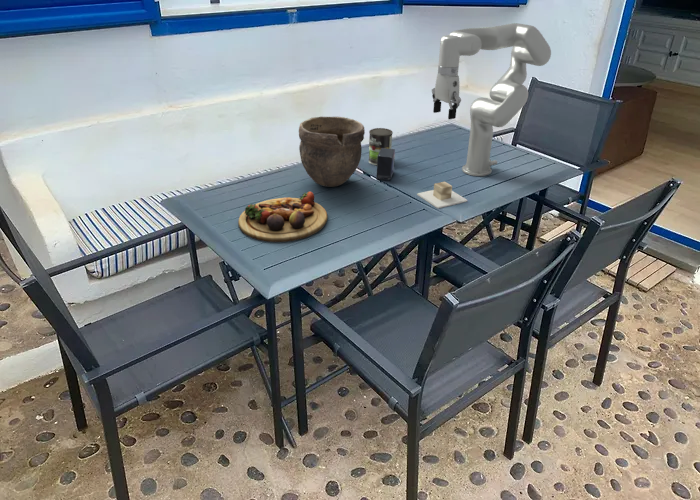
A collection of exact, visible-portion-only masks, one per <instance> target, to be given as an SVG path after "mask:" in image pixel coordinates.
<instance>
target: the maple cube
mask: <svg viewBox="0 0 700 500" xmlns="http://www.w3.org/2000/svg"><path fill="white" fill-rule="evenodd" d="M433 190H434V192H433V196H435V197H436V198H438V199H439V200H444V199H448V198H451V194H452V191H453V185H451V184H450V183H448V182H446V181H442V182H436V183H433Z"/></svg>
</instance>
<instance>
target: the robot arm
mask: <svg viewBox="0 0 700 500" xmlns="http://www.w3.org/2000/svg"><path fill="white" fill-rule="evenodd" d="M506 48H511V53H510V63H509V67H508V69H507V70H506V71H505V73H504V74H503V75H502V76H501V77H500V78H499V79H497V81H496V82H495V83H494V84H493V86H492V87H491V88H490V90H489V98H488V97H477V98H476V99H475V100H473V101H472V103H471V105H470V110H469V114H470V115H469V116H470V127H469V128H470V129H469V137H468V138H469V139H468V148H467V154H466V163H465V164H463V165H462V168H461V171H462V172H463V174H466V175H469V176H472V177H473V176H474V177H485V176H489V175H490V174H491V173H492V168H491V167H492V166H495V165H497V164H498V160H497V159H495V160H492V159H490V158H491V151H492V144H493V143H492V142H493V137H494V128H493V127H495V128H503V127H505V126H506V125H507V124H509V122H510V121H511V120H512V119H513V118H515V116H516V115H517V114H518V113H519V112H520V111H521V109H522V108H523V107H524V106H525V105H526V103H527V101H528V98H529V90H528V88H527V87H526V85H524V83H525V81H526V79H527V75H528V73H527V65H532V66H537V67H542V66H545V65H547V64H548V63H549V61H550V59H551V57H552V56H551V55H552V50H551V46H550V45H549V43H548V42H547V40H546V38H545V37H544V36H543V34H542V33H541V31H540V30H539V29H538V28H537V27H536V26H534V25H530V24H524V23H515V22H514V23H506V24H501V25H496V26H495V25H494V26H487V27H472V28H463V29H457V30H453V31H451V32H450V33H449V34H446V35H443V36H441V38H440V41H439V55H438V65H437V66H438V70H437V74H436V79H435V85H434V88H432V89H431V93H432V96H431V97H432V99H433V100H432V102H433V110H432V112H433V114H436V113H440V112H441V110H442V102H443V103H447V104H448V105H449V109H448V114H447V115H448V116H447V117H448V118H447V119H448V120H453V119H454V120H455V119H456V118H457V117H456V116H457V109H458V107H460V104H461V102H462V99H461V97H460V75H459V66H460V57H461V56H465V57H466V56H468V57H471V56H475V55H477V54H478V53H479V52H480V50H483V51H497V50H501V49H506Z"/></svg>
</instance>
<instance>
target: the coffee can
mask: <svg viewBox="0 0 700 500" xmlns="http://www.w3.org/2000/svg"><path fill="white" fill-rule="evenodd" d="M368 132H369V140H368V141H369V143H368V146H369V147H368V163H369V164H371V165H373V166H377V156H378V154H379V152H380V150H381V148H388V149H393V147H392V145H393V133H394V132H393V131H392V130H391V129H389V128H384V127H376V128H371V129H370V130H369V131H368Z"/></svg>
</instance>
